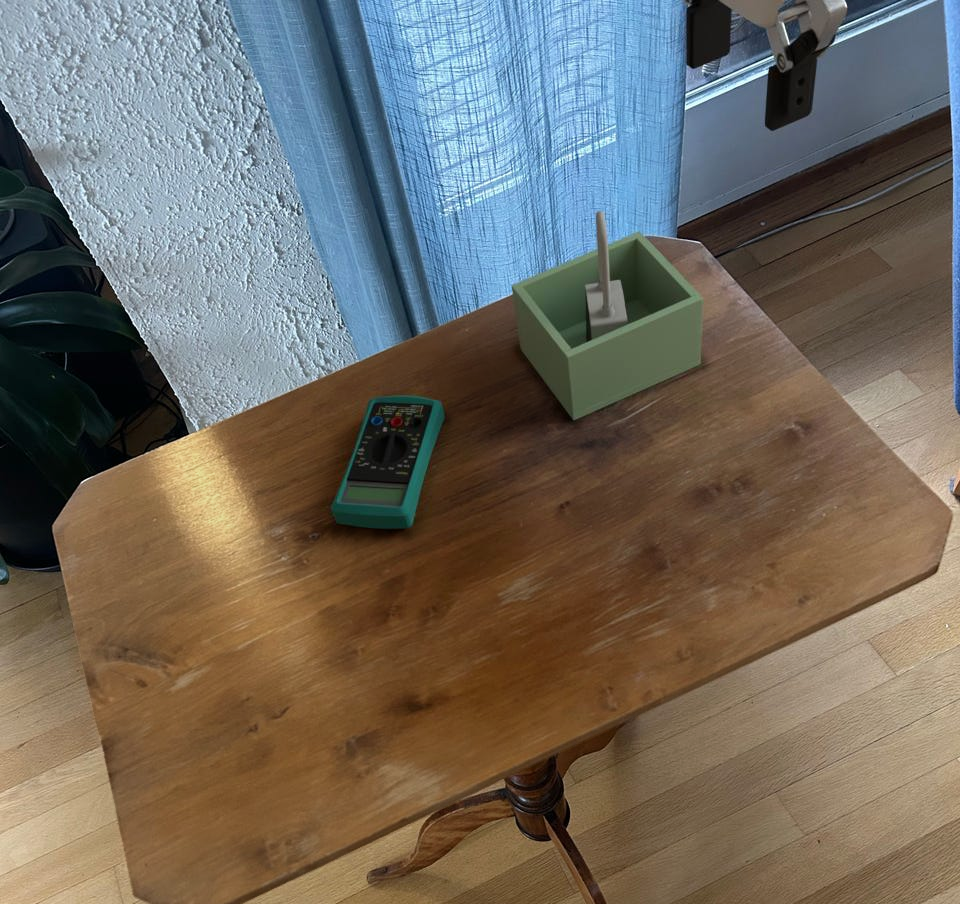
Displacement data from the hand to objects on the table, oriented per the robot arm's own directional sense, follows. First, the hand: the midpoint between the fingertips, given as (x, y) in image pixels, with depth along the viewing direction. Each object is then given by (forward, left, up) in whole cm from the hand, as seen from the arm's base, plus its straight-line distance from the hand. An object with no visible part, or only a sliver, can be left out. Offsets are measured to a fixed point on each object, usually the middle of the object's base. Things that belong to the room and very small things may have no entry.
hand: (746, 90), depth 69 cm
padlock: (+13, -1, -29) cm, 32 cm away
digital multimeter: (+23, +21, -30) cm, 43 cm away
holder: (+13, -1, -30) cm, 33 cm away
